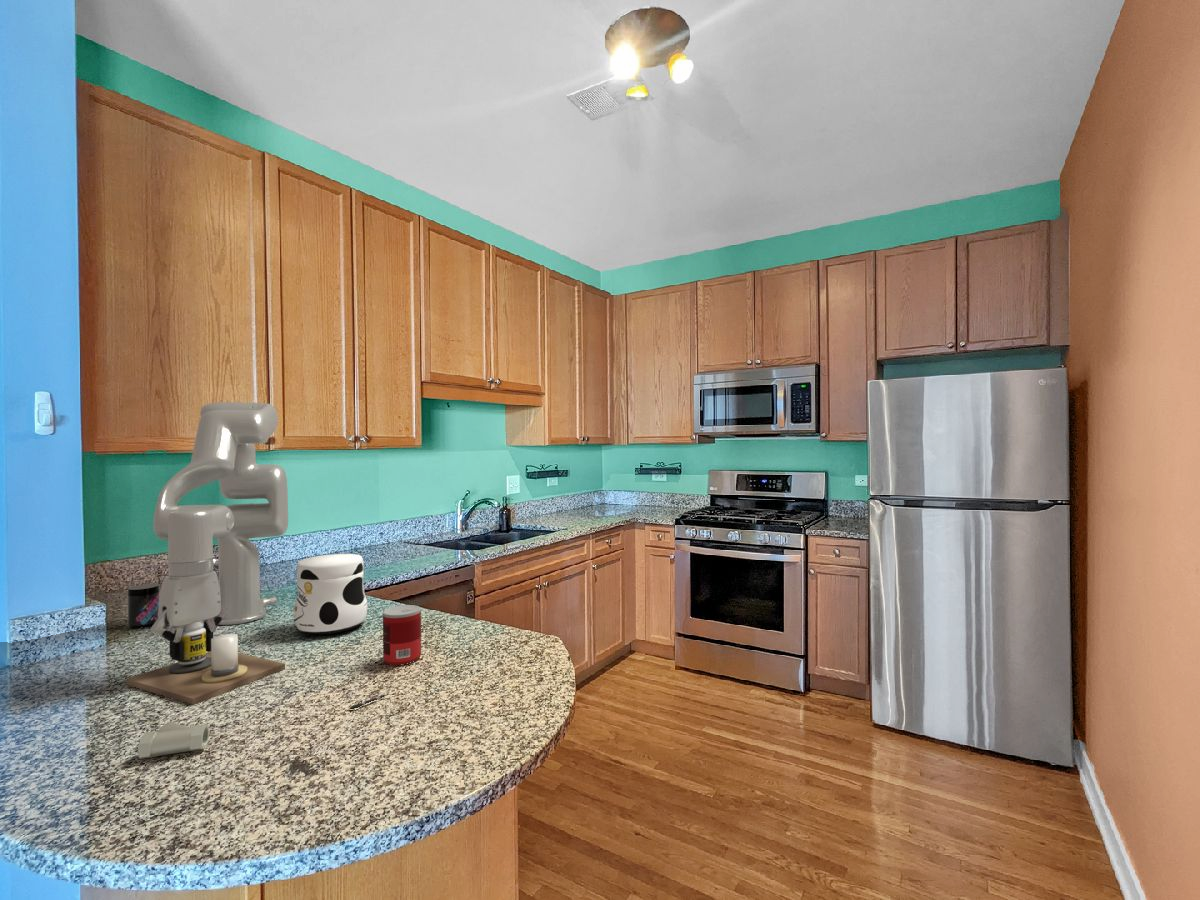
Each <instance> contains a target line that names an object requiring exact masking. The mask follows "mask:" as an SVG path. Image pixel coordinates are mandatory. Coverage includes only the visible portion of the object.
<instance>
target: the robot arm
mask: <svg viewBox="0 0 1200 900" xmlns="http://www.w3.org/2000/svg"><path fill="white" fill-rule="evenodd" d="M199 413H200V414H199V415H200V418H199V420H198V425H197V429H196V434H195V439H194V444H193V445H194V446H193V449H192V450H193V451H192V453H191V459H190V463H189V464H187V465H186V466H185V467H184V468H182V469H180V470H179V471H178V472H176V474H174V475H173V476H171V478H170V479H169V480H168V481H167V482H166V483H165V484H164V485H163V487H162V488H161V490H160V491H159V494H158V497H157V500H156V501H157V502H156V505H155V509H154V513H153V514H154V515H153V519H152V520H153V521H152V529H153V532H154V535H155V536H156V537H157V538H158V539H159V540H163V541H167V543H168V544H167V545H168V546H167V552H168V553H167V555H168V557H167V558H168V559H167V561H168V562H167V563H168V567H167V568H168V577H165V578H163V579H162V584H161V587H160V599H159V610H158V619H157V621H156V622H155V623H154V625H153V626H151V627H150V630H149V631H150V633H153V634H155V635H157V636H160V637H161V638H164V640H166V641H167V642H169V657H170V659H171V660H173V661H177V662H178V661H182V660H183V659H184V642H183V641H181V636H182V632H183V628H184V626H186V625H190V624H192V623H195V622H199V621H204V626H203V627H204V628H205V629H206V653H209V652H211V639H212V638H214V632H216V631H217V627H218V626H220V625H221V626H231V625H239V624H246V623H252V622H255V621H258V620H260V619H262V618H264V617H266V615H267V609H265V608H266V607H267V606H271V605H275V604H277V601H278V600H277V597H275V596H272V597H268V598H265V597H261V591H260V590H261V584H260V583H261V582H260V581H261V580H260V579H261V578H260V577H261V576H260V565H261V564H260V552H259V549H258V548H257V546H255V544H254V543H253V542H252V541H251V540H250V539H258V538H273V537H274V538H275V537H280V536H283V535H284V534H285V533H286V532H287V530H288V528H289V527H288V526H289V503H288V501H289V500H288V498H289V496H288V495H289V494H288V478H287V474H286V471H285V469H284V468H283V467H282V466H280V465H279V464H258V463H257V461H256V457H257V456H256V445H257V444H258V445H259V444H262V443H263V444H264V443H266V442H267V441H268V440H269V439H270V437H272V435H273V434H274V433H275V432H276V429H277V427H278V423H279V415H278V412H277V409H276V408H275V406H273V404H271V403H265V402H239V401H238V402H234V401H233V402H231V401H221V402H220V401H219V402H217V401H216V402H210V403H206V404H204V405H203V406H201V408H200V412H199ZM255 444H256V445H255ZM218 480H219V481H218ZM216 481H218V483H219V490H220V494H221V495H222V496H223V497H224V498H225V499H229V500H257V499H258V500H260V499H261V500H263V499H265V500H266V501H267V502H266V503H264V502H262V503H234V504H233V503H232V504H227V505H223V504H187V505H178V504H179V502H180V501H181V500H182V499H183V498H184V497H185V496H186V495H187V494H188V493H190V492H191V491H193V490H195V489H198V488H200V487H203V486H205V485H209V484H210V483H213V482H216ZM213 539H216V542H217V551H218V554H217V555H218V556H217V557H218V558H214V546H213V545H214V544H213V543H214V542H213ZM216 565H218V575H217V571H215V570H214V566H216ZM254 620H255V621H254ZM165 626H169V627H168V629H165V628H164V627H165Z"/></svg>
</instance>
